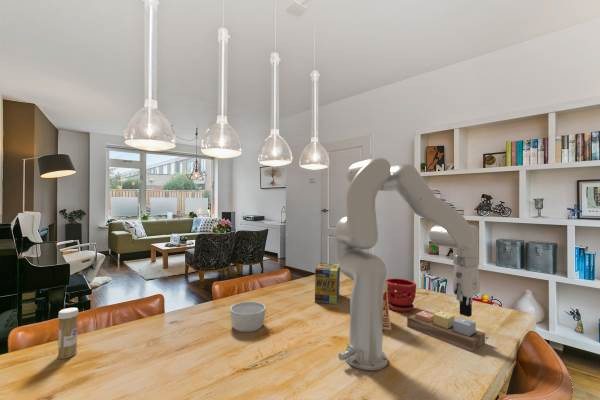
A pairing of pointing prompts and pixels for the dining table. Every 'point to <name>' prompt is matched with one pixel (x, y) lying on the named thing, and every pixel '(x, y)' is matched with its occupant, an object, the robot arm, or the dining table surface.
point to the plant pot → (401, 294)
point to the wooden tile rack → (447, 334)
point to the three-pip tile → (425, 316)
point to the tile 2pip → (443, 319)
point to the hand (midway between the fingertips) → (465, 315)
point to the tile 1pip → (464, 326)
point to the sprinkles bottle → (67, 332)
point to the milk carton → (386, 309)
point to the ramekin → (247, 316)
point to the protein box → (327, 283)
